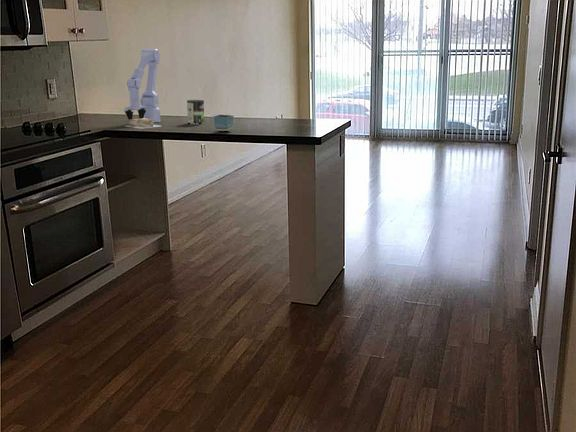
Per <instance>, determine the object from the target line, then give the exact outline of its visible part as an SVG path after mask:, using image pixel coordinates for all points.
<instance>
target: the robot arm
mask: <svg viewBox="0 0 576 432" xmlns="http://www.w3.org/2000/svg"><path fill="white" fill-rule="evenodd" d="M160 56H161V54H160V52H159V50H158V48H154V49H153V48H142V49H141V50H140V60H139V63H138V65H137V68H135V69H134V70H133V73H132V75H131V76H130V78H129V79H128V80H127V82H126V86H127V89H128V92H129V106H127V107H126V106H124V108H123V109H124V110H123V111H124V114H125V115H126V117H127V119H128V121H129V119H134V118H133V116H134V111H137V113H138V118H149V119H150V120H153V123H158V122H159V123H160V122H162V120H161V111H160V108H159V107H158V106H159V95H158V94H157V92H155V90H156V85H157V83H156V82H157V76H158V75H157V74H158V66H159V64H160V58H161V57H160ZM147 65H148V70H147V78H146V87H145V91H144V92H143V93H142V94H140V88H141V87H142V79H143V76H145V72H144V70H145V68H146V67H147ZM140 95H141V96H140ZM140 97H141V98H140Z"/></svg>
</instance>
